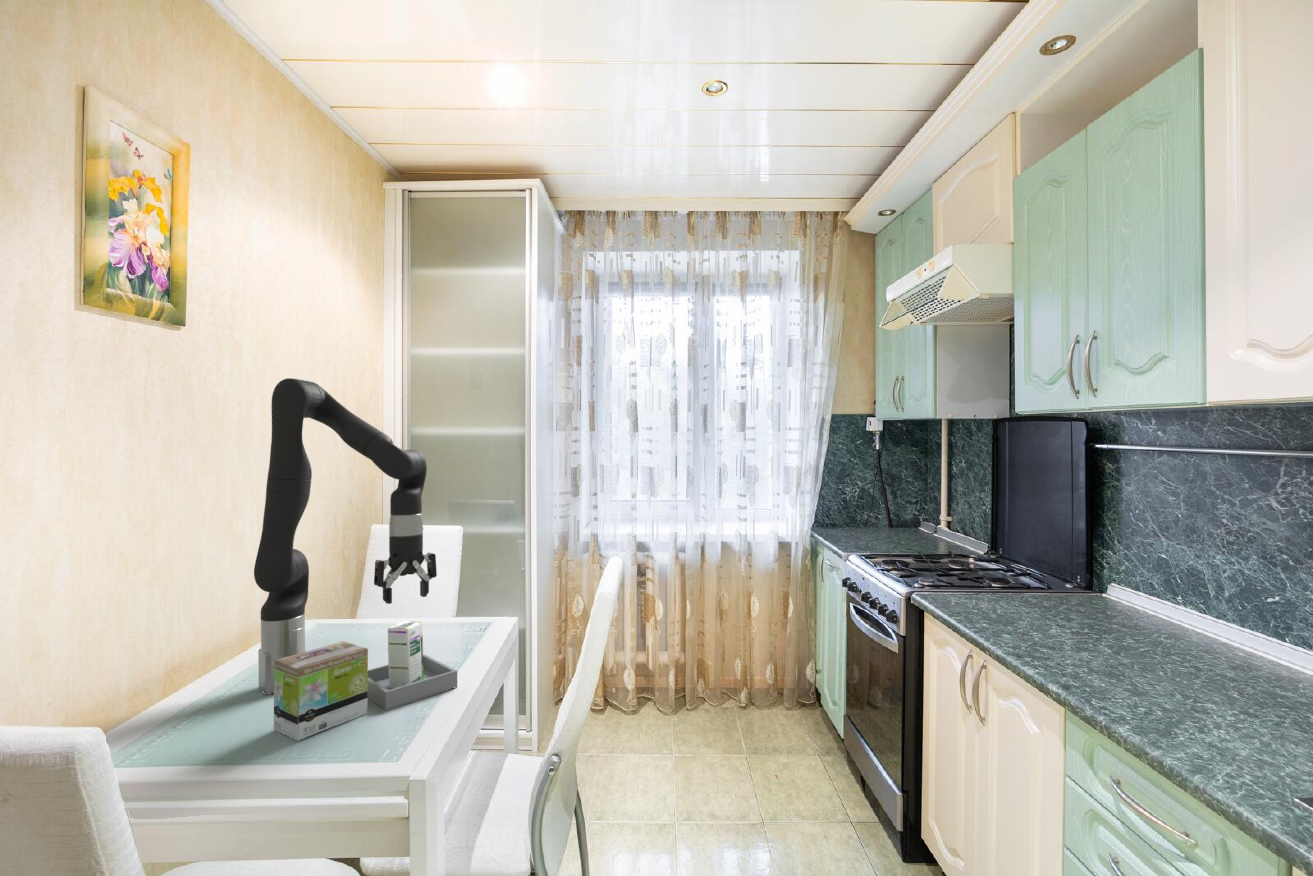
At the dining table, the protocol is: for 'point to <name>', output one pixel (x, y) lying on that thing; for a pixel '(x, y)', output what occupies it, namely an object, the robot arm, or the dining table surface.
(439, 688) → the tray
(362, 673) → the tea box
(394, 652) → the syrup box
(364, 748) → the dining table surface
